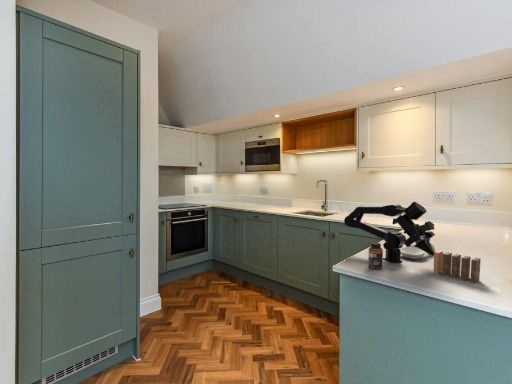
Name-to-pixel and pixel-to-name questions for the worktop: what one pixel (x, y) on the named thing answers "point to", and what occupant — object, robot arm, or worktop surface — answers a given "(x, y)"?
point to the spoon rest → (413, 252)
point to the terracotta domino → (438, 262)
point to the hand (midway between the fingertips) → (433, 254)
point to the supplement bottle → (375, 256)
